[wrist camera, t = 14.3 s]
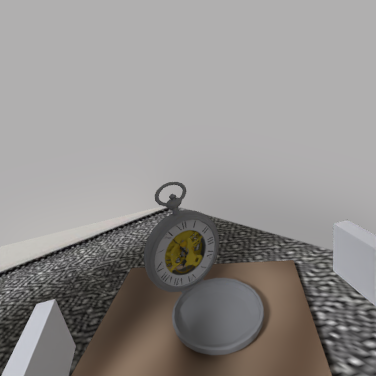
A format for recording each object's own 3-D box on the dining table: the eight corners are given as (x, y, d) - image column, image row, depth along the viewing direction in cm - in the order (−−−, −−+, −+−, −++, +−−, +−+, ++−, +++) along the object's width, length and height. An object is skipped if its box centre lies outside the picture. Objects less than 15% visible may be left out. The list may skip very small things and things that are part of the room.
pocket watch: (254, 375, 15) (233, 222, 12) (137, 339, 19) (96, 216, 16) (274, 281, 22) (264, 167, 19) (184, 268, 26) (163, 171, 23)
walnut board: (68, 400, 17) (62, 389, 17) (133, 275, 28) (131, 268, 28) (342, 420, 13) (342, 407, 13) (293, 269, 25) (293, 260, 24)
